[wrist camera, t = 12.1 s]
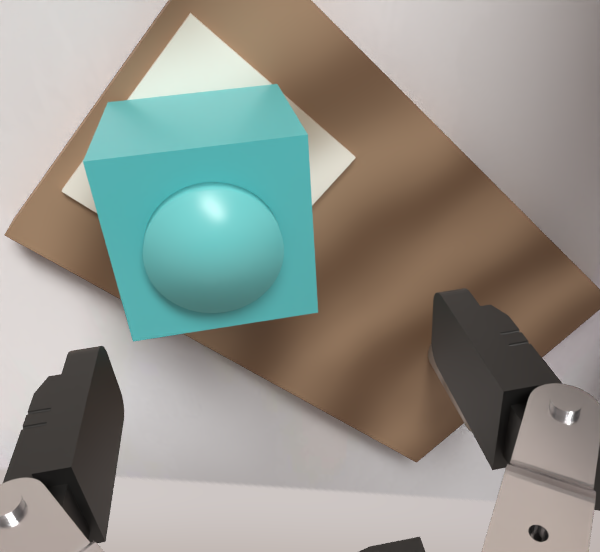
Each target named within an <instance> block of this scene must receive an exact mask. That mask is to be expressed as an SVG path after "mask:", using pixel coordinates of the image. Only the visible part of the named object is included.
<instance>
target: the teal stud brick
mask: <svg viewBox="0 0 600 552" xmlns="http://www.w3.org/2000/svg"><path fill="white" fill-rule="evenodd" d="M83 164H84V168H85V171H86V175H87V178H88V182H89V185H90V189H91V193H92V196H93V200H94V203H95V207H96V211H97V214H98V218H99V221H100V225H101V228H102V232H103V236H104V239H105V243H106V246H107V250H108V254H109V257H110V261H111V264H112V268H113V271H114V275H115V279H116V282H117V286H118V289H119V293H120V296H121V300H122V304H123V307H124V311H125V314H126V318H127V322H128V325H129V329H130V332H131V336H132V339H133V341H139V340H146V339H152V338H158V337H165V336H171V335H178V334H184V333H190V332H197V331H203V330H210V329H216V328H222V327H229V326H235V325H242V324H248V323H254V322H261V321H267V320H274V319H280V318H286V317H293V316H299V315H306V314H312V313H318V301H317V284H316V267H315V249H314V232H313V214H312V197H311V180H310V162H309V145H308V134H307V132H306V131H305V129H304V127H303V126H302V124H301V122H300V121H299V119H298V117H297V116H296V114H295V112H294V111H293V109H292V108H291V106H290V104H289V103H288V101H287V99H286V98H285V96H284V94H283V93H282V91H281V89H280V88H279V86H278V84H271V85H262V86H253V87H243V88H234V89H225V90H216V91H206V92H197V93H188V94H179V95H170V96H160V97H151V98H142V99H133V100H124V101H114V102H108V103H107V105H106V108H105V110H104V113H103V115H102V117H101V120H100V122H99V124H98V127H97V129H96V132H95V134H94V136H93V139H92V141H91V143H90V146H89V148H88V151H87V153H86V155H85V158H84V160H83Z"/></svg>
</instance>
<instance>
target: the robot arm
mask: <svg viewBox="0 0 600 552" xmlns="http://www.w3.org/2000/svg"><path fill="white" fill-rule="evenodd" d="M431 344H432V352H433V357H434V360H435V363H436V366H437V368H438V369H439V371H440V373H441V375H442V377H443V379H444V381H445V382H446V384H447V386H448V388H449V390H450V392H451V394H452V395H453V397H454V399H455V401H456V403H457V405H458V407H459V408H460V410H461V412H462V414H463V416H464V418H465V420H466V421H467V423H468V425H469V427H470V429H471V431H472V433H473V435H474V436H475V438H476V440H477V442H478V444H479V446H480V448H481V449H482V451H483V453H484V455H485V457H486V459H487V461H488V462H489V464H490V466H491V468H492V470H495V469H500V468H506V469H505V473H504V476H503V479H502V483H501V486H500V490H499V493H498V497H497V500H496V504H495V507H494V510H493V514H492V517H491V521H490V524H489V528H488V532H487V535H486V538H485V541H484V545H483V548H482V552H589V544H590V537H591V530H592V522H593V515H594V510H600V404H599V403H598V402H597V400H596V399H595V398H594V397H593V396H591V395H590V394H589V393H587V392H585V391H584V390H582V389H579V388H577V387H574V386H571V385H567V384H562V383H561V381H560V380H559V379H558V378H557V376H556V375H555V374H554V372H553V371H552V370H551V369H550V367H549V366H548V365H547V364H546V362H545V361H544V360H543V359H542V357H541V356H540V355H539V354H538V352H537V351H536V350H535V348H534V347H533V346H532V345H531V344H529V342H528V340H527V338H526V337H525V336H524V335H523V333H522V332H520V331H519V328H518V327H517V326H516V324H515V323H514V322H513V321H512V319H511V318H510V317H509V316H508V315H507V314H505V313H504V312H502V311H500V310H499V309H497V308H495V307H494V306H492V305H484V306H480V305H479V303H478V302H477V301H476V299H475V298H474V297H473V295H472V294H471V293H470V291H469V290H468V289H466V288H462V289H456V290H450V291H444V292H438V293H435V295H434V299H433V317H432V339H431ZM123 422H124V405H123V399H122V394H121V391H120V388H119V385H118V383H117V380H116V377H115V374H114V371H113V368H112V366H111V363H110V360H109V357H108V354H107V352H106V350H105V348H104V347H103V346H99V347H93V348H86V349H80V350H74V351H70V352H69V353H68V355H67V358H66V361H65V364H64V368H63V371H62V374H61V375H55V376H49V377H48V378H47V379H46V380H45V381H44V383H43V384H42V385H41V386H40V387H39V388H38V390H37V391H36V392H35V393H34V395H33V398H32V401H31V404H30V407H29V410H28V415H26V418H25V421H24V424H23V430H21V433H20V435H19V438H18V441H17V444H16V447H15V450H14V453H13V455H12V458H11V461H10V464H9V467H8V470H7V473H6V475H5V478H4V482H3V484H1V485H0V552H104V551H103V550H102V549H101V548H100V546H99V545H98V544H97V543H101V542H105V541H106V534H107V528H108V521H109V515H110V508H111V501H112V495H113V488H114V481H115V475H116V468H117V461H118V455H119V448H120V441H121V435H122V428H123ZM360 552H425V550H424V547H423V544H422V541H421V538H420V537H416V538H411V539H406V540H401V541H396V542H391V543H386V544H381V545H376V546H371V547H368V548H366V549H364V550H361V551H360Z"/></svg>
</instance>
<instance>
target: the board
mask: <svg viewBox="0 0 600 552" xmlns="http://www.w3.org/2000/svg"><path fill="white" fill-rule="evenodd" d="M271 84H278V86H279V88H280V89H281V91H282V93H283V94H284V96H285V98H286V99H287V101H288V103H289V104H290V106H291V108H292V109H293V111H294V112H295V114H296V116H297V117H298V119H299V121H300V122H301V124H302V126H303V127H304V129H305V131H306V132H307V134H308V145H309V162H310V180H311V197H312V214H313V232H314V249H315V267H316V284H317V301H318V313H312V314H306V315H299V316H293V317H286V318H280V319H274V320H267V321H261V322H254V323H248V324H242V325H235V326H229V327H222V328H216V329H210V330H203V331H197V332H190V333H184V335H186V336H188V337H190V338H192V339H194V340H195V341H197V342H199V343H201V344H203V345H204V346H206V347H208V348H210V349H212V350H213V351H215V352H217V353H219V354H221V355H223V356H224V357H226V358H228V359H230V360H232V361H233V362H235V363H237V364H239V365H241V366H242V367H244V368H246V369H248V370H250V371H252V372H253V373H255V374H257V375H259V376H261V377H262V378H264V379H266V380H268V381H270V382H271V383H273V384H275V385H277V386H279V387H281V388H282V389H284V390H286V391H288V392H290V393H291V394H293V395H295V396H297V397H299V398H301V399H302V400H304V401H306V402H308V403H310V404H311V405H313V406H315V407H317V408H319V409H320V410H322V411H324V412H326V413H328V414H330V415H331V416H333V417H335V418H337V419H339V420H340V421H342V422H344V423H346V424H348V425H349V426H351V427H353V428H355V429H357V430H359V431H360V432H362V433H364V434H366V435H368V436H369V437H371V438H373V439H375V440H377V441H378V442H380V443H382V444H384V445H386V446H388V447H389V448H391V449H393V450H395V451H397V452H398V453H400V454H402V455H404V456H406V457H407V458H409V459H411V460H413V461H415V462H418V461H419V460H420V459H421V458H423V457H424V456H425V455H426V454H427V453H429V452H430V451H431V450H432V449H433V448H435V447H436V446H437V445H438V444H439V443H440V442H442V441H443V440H444V439H445V438H446V437H448V436H449V435H450V434H451V433H452V432H454V431H455V430H456V429H457V428H458V427H460V426H461V425H462V424H463V423H465V425H466V427H467V428H468V429H469V430H470V431H471V429H470V427H469V425H468V423H467V421H466V420H465V418H464V416H463V414H462V412H461V410H460V408H459V407H458V405H457V403H456V401H455V399H454V397H453V395H452V394H451V392H450V390H449V388H448V386H447V384H446V382H445V381H444V379H443V377H442V375H441V373H440V371H439V369H438V368H437V366H436V363H435V360H434V357H433V352H432V344H431V339H432V317H433V299H434V295H435V293H438V292H444V291H450V290H456V289H462V288H466V289H468V290H469V291H470V293H471V294H472V295H473V297H474V298H475V299H476V301H477V302H478V303H479V305H480V306H484V305H492V306H494V307H495V308H497V309H499V310H500V311H502V312H504V313H505V314H507V315H508V316H509V317H510V318H511V319H512V321H513V322H514V323H515V324H516V326H517V327H518V328H519V331H520V332H522V333H523V335H524V336H525V337H526V338H527V340H528V342H529V344H531V345H532V346H533V347H534V348H535V350H536V351H537V352H538V354H539V355H540V356H541V357H543V356H544V355H546V354H547V353H548V352H549V351H550V350H552V349H553V348H554V347H555V346H556V345H558V344H559V343H560V342H561V341H562V340H564V339H565V338H566V337H567V336H568V335H570V334H571V333H572V332H573V331H574V330H576V329H577V328H578V327H579V326H580V325H582V324H583V323H584V322H585V321H586V320H588V319H589V318H590V317H591V316H592V315H594V314H595V313H596V312H597V311H598V310H599V309H600V289H599V288H598V287H597V286H596V285H595V284H594V283H593V282H592V281H591V280H590V279H589V278H588V277H587V276H586V275H585V274H584V273H583V272H582V271H581V270H580V269H579V268H578V267H577V266H576V265H575V264H574V263H573V262H572V261H571V260H570V259H569V258H568V257H567V256H566V255H565V254H564V253H563V252H562V251H561V250H560V249H559V248H558V247H557V246H556V245H555V244H554V243H553V242H552V241H551V240H550V239H549V238H548V237H547V236H546V235H545V234H544V233H543V232H542V231H541V230H540V229H539V228H538V227H537V226H536V225H535V224H534V223H533V222H532V221H531V220H530V219H529V218H528V217H527V216H526V215H525V214H524V213H523V212H522V211H521V210H520V209H519V208H518V207H517V206H516V205H515V204H514V203H513V202H512V201H511V200H510V199H509V198H508V197H507V196H506V195H505V194H504V193H503V192H502V191H501V190H500V189H499V188H498V187H497V186H496V185H495V184H494V183H493V182H492V181H491V180H490V179H489V178H488V177H487V176H486V175H485V174H484V173H483V172H482V171H481V170H480V169H479V168H478V167H477V166H476V165H475V164H474V163H473V162H472V161H471V160H470V159H469V158H468V157H467V156H466V155H465V154H464V153H463V152H462V151H461V150H460V149H459V148H458V147H457V146H456V145H455V144H454V143H453V142H452V141H451V140H450V139H449V138H448V137H447V136H446V135H445V134H444V133H443V132H442V131H441V130H440V129H439V128H438V127H437V126H436V125H435V124H434V123H433V122H432V121H431V120H430V119H429V118H428V117H427V116H426V115H425V114H424V113H423V112H422V111H421V110H420V109H419V108H418V107H417V106H416V105H415V104H414V103H413V102H412V101H411V100H410V99H409V98H408V97H407V96H406V95H405V94H404V93H403V92H402V91H401V90H400V89H399V88H398V87H397V86H396V85H395V84H394V83H393V82H392V81H391V80H390V79H389V78H388V77H387V76H386V75H385V74H384V73H383V72H382V71H381V70H380V69H379V68H378V67H377V66H376V65H375V64H374V63H373V62H372V61H371V60H370V59H369V58H368V57H367V56H366V55H365V54H364V53H363V52H362V51H361V50H360V49H359V48H358V47H357V46H356V45H355V44H354V43H353V42H352V41H351V40H350V39H349V38H348V37H347V36H346V35H345V34H344V33H343V32H342V31H341V30H340V29H339V28H338V27H337V26H336V25H335V24H334V23H333V22H332V21H331V20H330V19H329V18H328V17H327V16H326V15H325V14H324V13H323V12H322V11H321V10H320V9H319V8H318V7H317V6H316V5H315V4H314V3H313V2H312V1H311V0H168V2H167V3H166V5H165V6H164V8H163V9H162V10H161V12H160V13H159V15H158V16H157V17H156V19H155V20H154V22H153V23H152V24H151V26H150V27H149V29H148V30H147V32H146V33H145V34H144V36H143V37H142V39H141V40H140V41H139V43H138V44H137V46H136V47H135V48H134V50H133V51H132V53H131V54H130V55H129V57H128V58H127V60H126V61H125V63H124V64H123V65H122V67H121V68H120V70H119V71H118V72H117V74H116V75H115V77H114V78H113V79H112V81H111V82H110V84H109V85H108V87H107V88H106V89H105V91H104V92H103V94H102V95H101V96H100V98H99V99H98V101H97V102H96V103H95V105H94V106H93V108H92V109H91V111H90V112H89V113H88V115H87V116H86V118H85V119H84V120H83V122H82V123H81V125H80V126H79V127H78V129H77V130H76V132H75V133H74V135H73V136H72V137H71V139H70V140H69V142H68V143H67V144H66V146H65V147H64V149H63V150H62V151H61V153H60V154H59V156H58V157H57V159H56V160H55V161H54V163H53V164H52V166H51V167H50V168H49V170H48V171H47V173H46V174H45V175H44V177H43V178H42V180H41V181H40V182H39V184H38V185H37V187H36V188H35V190H34V191H33V192H32V194H31V195H30V197H29V198H28V199H27V201H26V202H25V204H24V205H23V206H22V208H21V209H20V211H19V212H18V214H17V215H16V216H15V218H14V219H13V221H12V223H11V225H10V226H9V228H8V230H7V232H6V233H5V236H7V237H9V238H10V239H12V240H14V241H16V242H18V243H19V244H21V245H23V246H25V247H27V248H29V249H30V250H32V251H34V252H36V253H38V254H39V255H41V256H43V257H45V258H47V259H48V260H50V261H52V262H54V263H56V264H58V265H59V266H61V267H63V268H65V269H67V270H68V271H70V272H72V273H74V274H76V275H77V276H79V277H81V278H83V279H85V280H87V281H88V282H90V283H92V284H94V285H96V286H97V287H99V288H101V289H103V290H105V291H106V292H108V293H110V294H112V295H114V296H116V297H117V298H119V299H121V296H120V293H119V289H118V286H117V282H116V279H115V275H114V271H113V268H112V264H111V261H110V257H109V254H108V250H107V246H106V243H105V239H104V236H103V232H102V228H101V225H100V221H99V218H98V214H97V211H96V207H95V203H94V200H93V196H92V193H91V189H90V185H89V182H88V178H87V175H86V171H85V168H84V164H83V160H84V158H85V155H86V153H87V151H88V148H89V146H90V143H91V141H92V139H93V136H94V134H95V132H96V129H97V127H98V124H99V122H100V120H101V117H102V115H103V113H104V110H105V108H106V105H107V103H108V102H114V101H124V100H133V99H142V98H151V97H160V96H170V95H179V94H188V93H197V92H206V91H216V90H225V89H234V88H243V87H253V86H262V85H271ZM471 432H472V431H471Z"/></svg>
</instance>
